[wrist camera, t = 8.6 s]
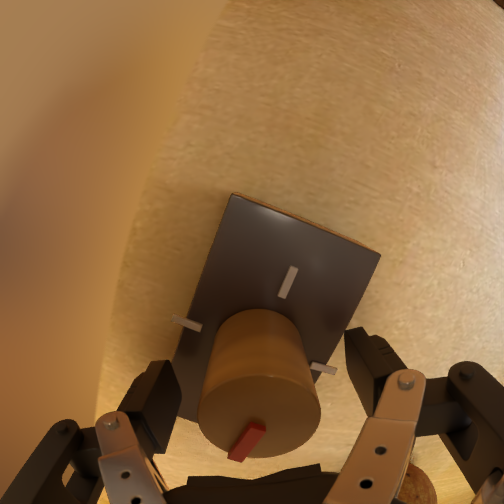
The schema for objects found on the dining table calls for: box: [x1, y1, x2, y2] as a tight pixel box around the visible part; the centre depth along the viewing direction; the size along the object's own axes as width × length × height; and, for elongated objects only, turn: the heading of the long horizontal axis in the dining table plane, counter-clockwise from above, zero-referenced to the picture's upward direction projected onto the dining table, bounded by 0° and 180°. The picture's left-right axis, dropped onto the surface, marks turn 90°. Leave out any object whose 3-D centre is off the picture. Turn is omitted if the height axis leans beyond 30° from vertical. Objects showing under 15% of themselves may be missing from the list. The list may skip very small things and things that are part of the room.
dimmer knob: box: [197, 309, 321, 462], centre depth 11 cm, size 4×4×5 cm
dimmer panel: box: [171, 192, 381, 423], centre depth 15 cm, size 12×8×3 cm
